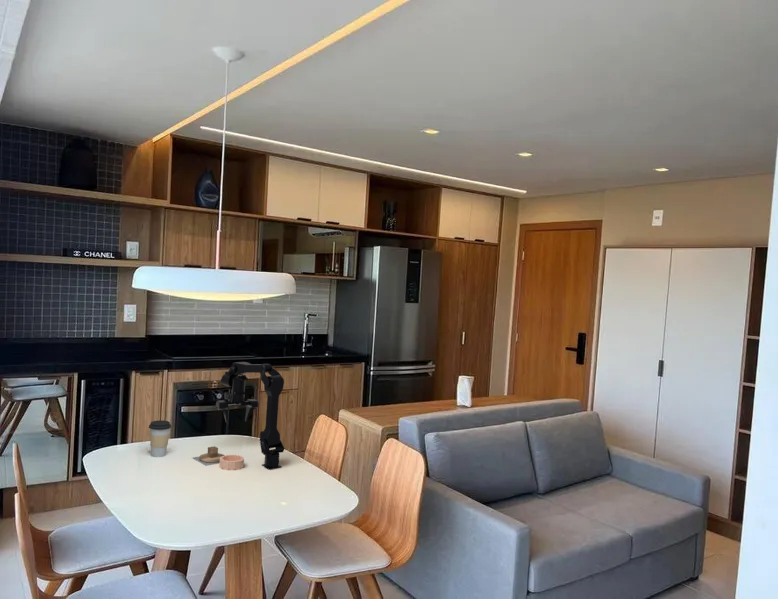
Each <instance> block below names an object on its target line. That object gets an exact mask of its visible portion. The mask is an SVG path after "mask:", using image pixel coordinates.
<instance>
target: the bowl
mask: <svg viewBox="0 0 778 599" xmlns="http://www.w3.org/2000/svg"><path fill="white" fill-rule="evenodd" d="M244 463H245V457H244V456H243V455H239V454H238V455H237V454H226V455H225V456H222V457H220V463H219V468H220V470H224V471H238V470H242V469H243V468H244V465H245V464H244Z"/></svg>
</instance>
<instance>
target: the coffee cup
mask: <svg viewBox="0 0 778 599" xmlns="http://www.w3.org/2000/svg"><path fill="white" fill-rule="evenodd" d="M148 428H149V430H150V431H149V432H150V433H149V441H150V442H149V443H150V444H149V445H150V455H151V456H150V457H152V458H163V457H165V456H166V453H167V449H168V448H167V446H168V444H169V439H170V431H171V428H172V424H171V423H170V421H168V420H160V419H159V420H154V421H151V422H150V423H149V425H148Z"/></svg>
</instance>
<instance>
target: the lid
mask: <svg viewBox="0 0 778 599" xmlns="http://www.w3.org/2000/svg"><path fill="white" fill-rule="evenodd" d="M199 456H200V457H199ZM199 456H198V457H199V460H200V461H201V462H204V463H219V462H220V457H222V456H225V455H224V454H223V453H219V448H218V447H217V446H216V445H215V446H209V447H207V453H203V454H200V455H199ZM219 464H220V463H219Z"/></svg>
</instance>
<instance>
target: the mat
mask: <svg viewBox="0 0 778 599" xmlns="http://www.w3.org/2000/svg"><path fill="white" fill-rule="evenodd" d="M199 457H200V455H199V456H193V457H192V459H193V460H195V461H197V462H198V463H200V464H202V465H203V466H205V467H207V466H212V465H217V464H219V465H220V462H219V463H204V462H201V461H200V460H199Z"/></svg>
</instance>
